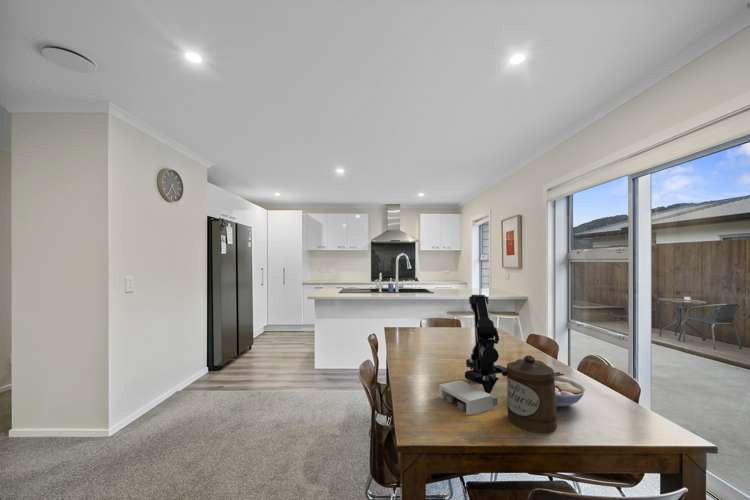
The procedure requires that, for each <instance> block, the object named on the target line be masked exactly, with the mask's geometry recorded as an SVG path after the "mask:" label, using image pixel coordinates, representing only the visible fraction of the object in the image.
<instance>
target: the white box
mask: <svg viewBox="0 0 750 500" xmlns="http://www.w3.org/2000/svg"><path fill="white" fill-rule="evenodd" d="M438 385H439V386H438V388H439V392H438V393H439V398H440V399H445V401H446V402H447V403H449V404H453V403H454V398H455V399H458V400H459V401H457V409H459V410H461V411H463V412H465V413H466V415H468V416H473V415H476V414H480V413H485V412H489V411H492V410H493V409H494V408H493V407H494V405H492V395H493V394H491V393H490V394H491V395H490V394H488V393H486V392H484V390H483V389H481V390H480V388H479V389H478V387H476V386H474V385H471V384H469V383H467V382H465V381H463V380H456V381H451V382H445V383H440V384H438ZM475 387H476V388H475ZM482 390H483V391H482Z"/></svg>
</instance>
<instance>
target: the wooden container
mask: <svg viewBox="0 0 750 500" xmlns="http://www.w3.org/2000/svg"><path fill="white" fill-rule="evenodd" d="M523 359H524V360H525V362H515V361H511V362H508V363H507V364H506V368H507V376H506V377H507V378H506V379H507V382H506V383H507V387H506V388H507V389H506V391H507V394H506V395H507V418H508V421H509V422H510V423H511V424H513V425H514V426H516V427H517V428H520V429H522V430H524V431H528V432H533V433H541V434H546V433H552V432H554V431H556V429H557V427H558V421H557V420H558V419H557V414H558V413H557V407H556V396H555V382H554V373H555V370H554V369H553V368H552V367H550V366H548V365H547V364H546V365H547V366H546V365H543V364H539V363H534V362H535V360H536V358H535V357H533V356H532V355H530V354H529V355H528V354H527V355H525V356H524V357H523Z"/></svg>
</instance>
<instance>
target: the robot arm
mask: <svg viewBox="0 0 750 500" xmlns="http://www.w3.org/2000/svg"><path fill="white" fill-rule="evenodd" d="M468 304H469V306H470V309H471V311H472V312H473V316H474V319H473V321H474V322H473V323H474V339H475V341H474V342H475V343H474V346H473V348H472V349H471V353H470V358H469V359H466V360H465V365H466V367H467V368H469V369H470V370H469V369H468V370H466V371H464V379H466V380H468V381H471V382H473V383H478V384H481V385H482V388H483V391H485V392H487V393H489V394H491V392H492V391H493V388H494V387H495V385H496V383H497V381H498V380H499V377H497V374H501V376H503V377H507V366H506V367H505V366H503V365H501V364H500V365H499V364H496V365H495V363H497V361H498V359H499V357H500V355H499V352H498V350H497V349H496V347H495V344H496V345H498V344H499V342H500V337H499V332H498V331H499V330H498V329H497V327H495V324H494V321H493V320H492V319H491V318H490V315H489V314H490V313H489V311H488V305H490V304H489V296H486V295H485V294H471V295H470V296H469V297H468Z"/></svg>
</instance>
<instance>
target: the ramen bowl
mask: <svg viewBox="0 0 750 500" xmlns="http://www.w3.org/2000/svg"><path fill="white" fill-rule="evenodd" d="M562 376H565V374H564V373H561V372H560V371H556V372H554V382H555V396H556V408H559V407H567V406H571V405H574V404H577V403H578V402H579V401H580V400H581V399H582V397H583V396H584V394H585V392H586V390H587V389H586V388H585V386H584V385H582V384H580V383H579V382H577V381H574V380H572V379H569V378H566V377H562Z"/></svg>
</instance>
